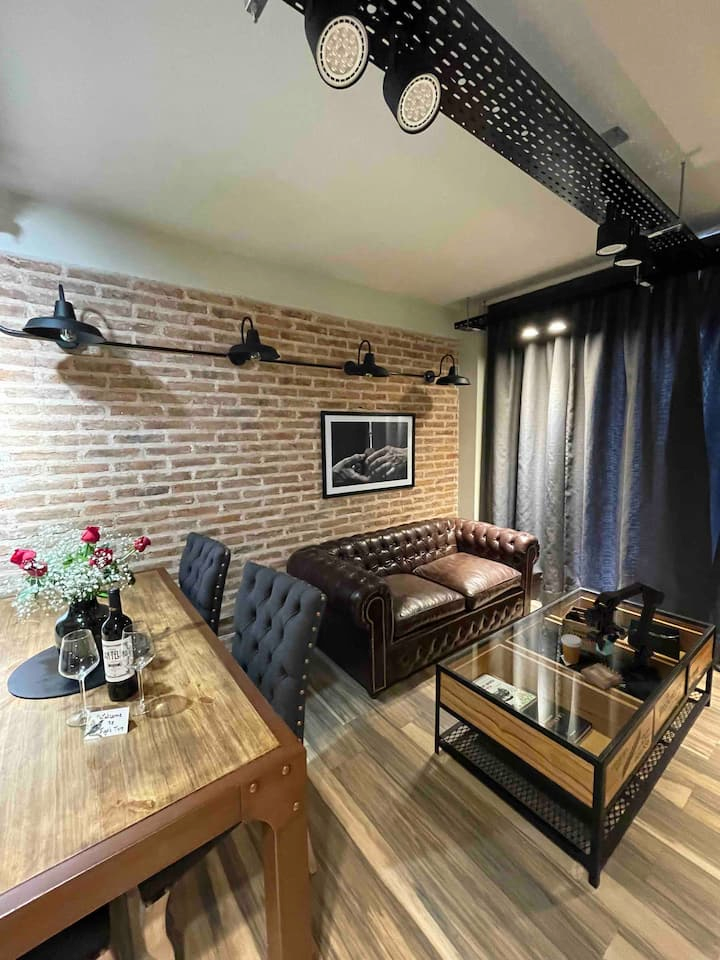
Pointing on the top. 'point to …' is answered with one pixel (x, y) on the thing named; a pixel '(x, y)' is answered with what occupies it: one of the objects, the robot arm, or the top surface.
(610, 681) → the walnut base
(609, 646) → the teal cube
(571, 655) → the disposable coffee cup
